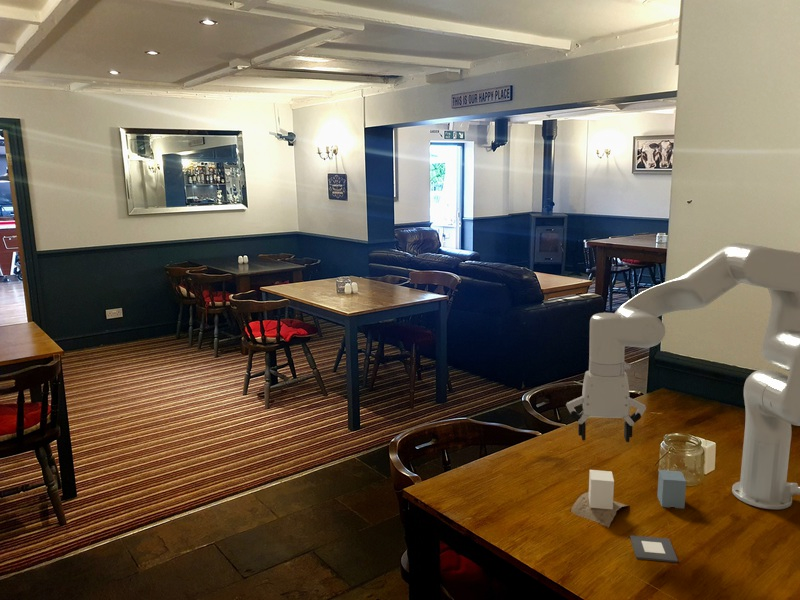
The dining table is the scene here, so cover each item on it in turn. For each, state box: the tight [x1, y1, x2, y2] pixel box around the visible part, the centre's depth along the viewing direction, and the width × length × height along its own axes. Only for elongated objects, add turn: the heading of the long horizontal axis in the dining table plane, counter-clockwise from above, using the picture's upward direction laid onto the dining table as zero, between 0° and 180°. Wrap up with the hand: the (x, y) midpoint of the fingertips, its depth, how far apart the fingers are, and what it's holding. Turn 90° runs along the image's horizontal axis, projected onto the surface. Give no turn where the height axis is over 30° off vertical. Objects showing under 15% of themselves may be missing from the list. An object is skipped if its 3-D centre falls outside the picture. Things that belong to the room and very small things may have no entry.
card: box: [629, 534, 679, 563], centre depth 130 cm, size 8×8×1 cm
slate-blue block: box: [656, 469, 687, 509], centre depth 148 cm, size 5×5×7 cm
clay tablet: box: [570, 491, 628, 529], centre depth 146 cm, size 14×10×3 cm
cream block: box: [588, 469, 615, 510], centre depth 145 cm, size 5×5×7 cm
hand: (604, 439), depth 143 cm, fingers open, 9 cm apart
